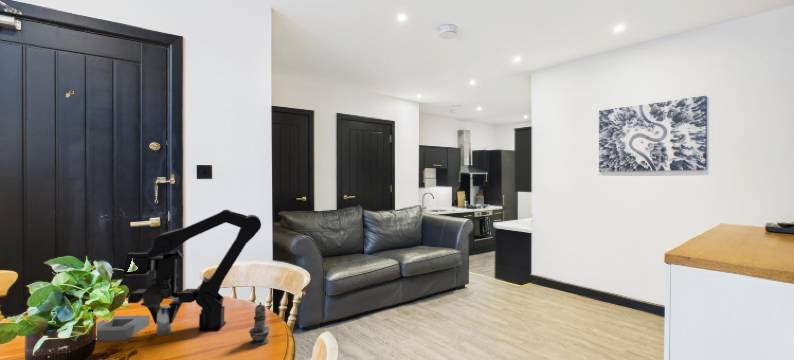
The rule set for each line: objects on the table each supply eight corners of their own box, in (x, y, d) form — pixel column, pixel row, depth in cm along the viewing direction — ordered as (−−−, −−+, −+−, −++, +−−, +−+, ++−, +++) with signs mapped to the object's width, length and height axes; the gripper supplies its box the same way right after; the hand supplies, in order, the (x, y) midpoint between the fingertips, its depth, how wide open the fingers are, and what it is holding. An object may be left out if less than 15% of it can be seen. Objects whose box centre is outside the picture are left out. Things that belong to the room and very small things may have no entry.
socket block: (149, 324, 120) (149, 315, 120) (126, 340, 108) (126, 330, 108) (110, 325, 119) (110, 315, 119) (82, 341, 107) (82, 330, 107)
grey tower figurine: (262, 336, 113) (263, 297, 113) (273, 341, 110) (274, 301, 110) (244, 342, 108) (245, 302, 108) (256, 348, 105) (257, 306, 105)
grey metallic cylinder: (173, 330, 116) (174, 305, 116) (167, 335, 112) (167, 309, 112) (160, 330, 115) (161, 305, 115) (153, 335, 111) (154, 309, 111)
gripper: (116, 280, 105) (114, 334, 105) (184, 280, 107) (183, 333, 107) (139, 270, 116) (138, 319, 116) (201, 270, 118) (199, 319, 118)
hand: (164, 323), depth 114 cm, fingers closed on grey metallic cylinder, 4 cm apart
